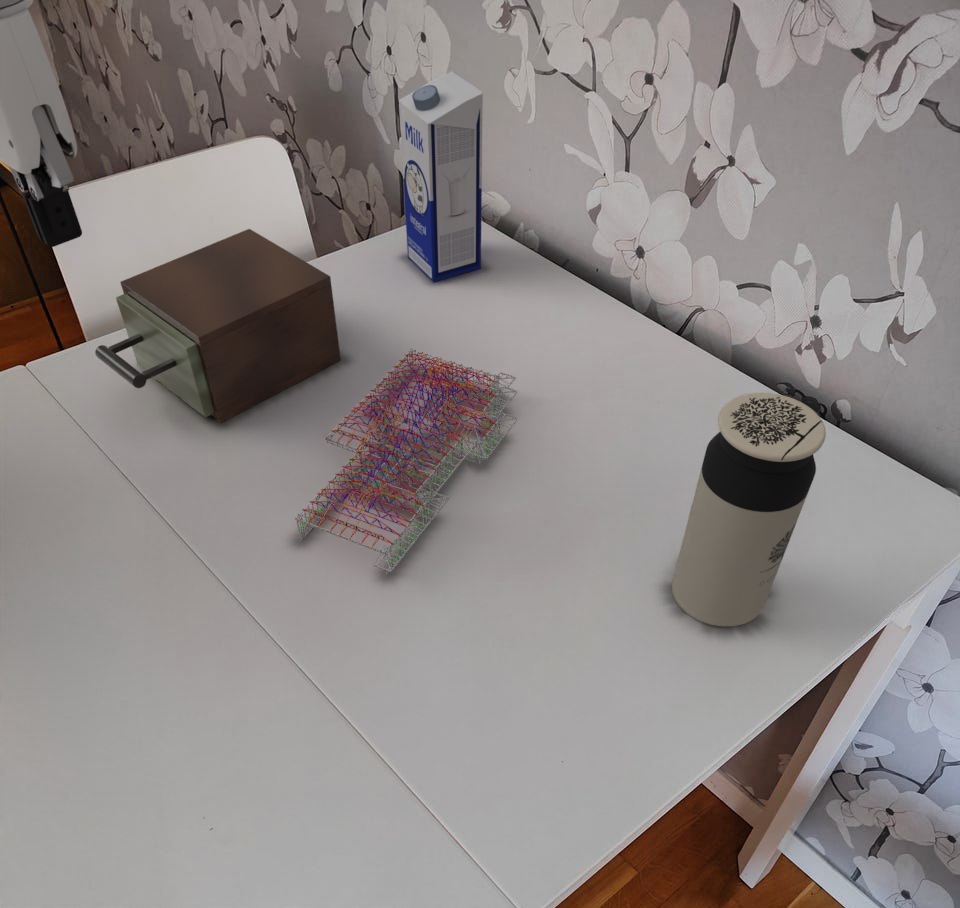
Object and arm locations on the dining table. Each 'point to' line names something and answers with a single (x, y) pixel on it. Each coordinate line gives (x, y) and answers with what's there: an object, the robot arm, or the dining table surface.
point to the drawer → (159, 356)
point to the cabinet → (245, 316)
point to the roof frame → (411, 446)
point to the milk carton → (443, 176)
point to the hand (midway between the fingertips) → (61, 238)
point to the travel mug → (746, 506)
